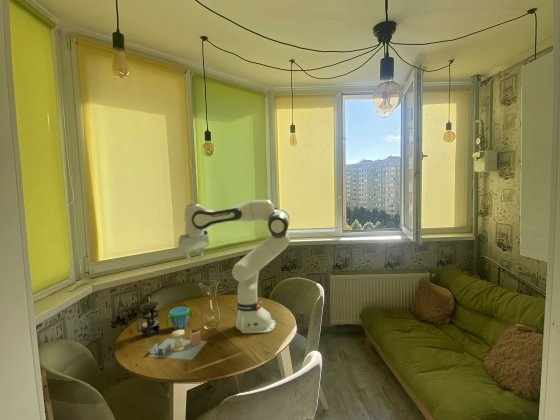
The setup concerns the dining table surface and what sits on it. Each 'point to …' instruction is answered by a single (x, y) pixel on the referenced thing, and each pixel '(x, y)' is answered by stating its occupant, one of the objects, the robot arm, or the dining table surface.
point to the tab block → (195, 337)
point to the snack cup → (179, 317)
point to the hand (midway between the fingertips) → (194, 257)
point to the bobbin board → (181, 354)
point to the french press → (149, 318)
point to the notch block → (159, 350)
